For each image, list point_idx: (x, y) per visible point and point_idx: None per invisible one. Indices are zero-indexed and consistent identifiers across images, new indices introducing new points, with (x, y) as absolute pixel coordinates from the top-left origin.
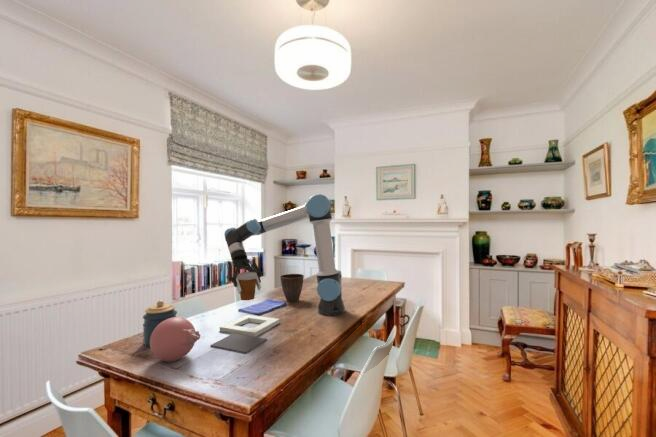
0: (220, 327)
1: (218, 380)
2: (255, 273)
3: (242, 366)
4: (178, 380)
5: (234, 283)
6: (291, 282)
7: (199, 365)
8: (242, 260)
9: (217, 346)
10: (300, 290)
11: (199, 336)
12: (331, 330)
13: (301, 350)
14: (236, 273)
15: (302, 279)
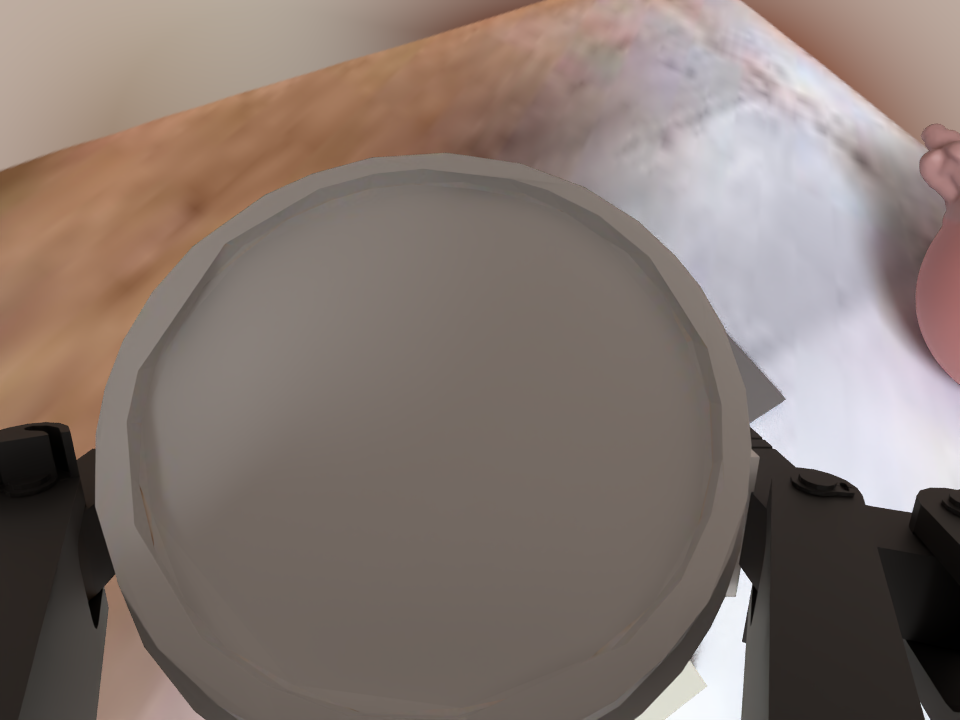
0: (699, 676)
1: (759, 90)
2: (210, 261)
3: (656, 125)
4: (910, 159)
5: (764, 447)
6: None
7: (835, 223)
8: None
9: (744, 353)
10: None
11: (927, 152)
12: (57, 201)
13: (372, 109)
14: (808, 595)
15: None
